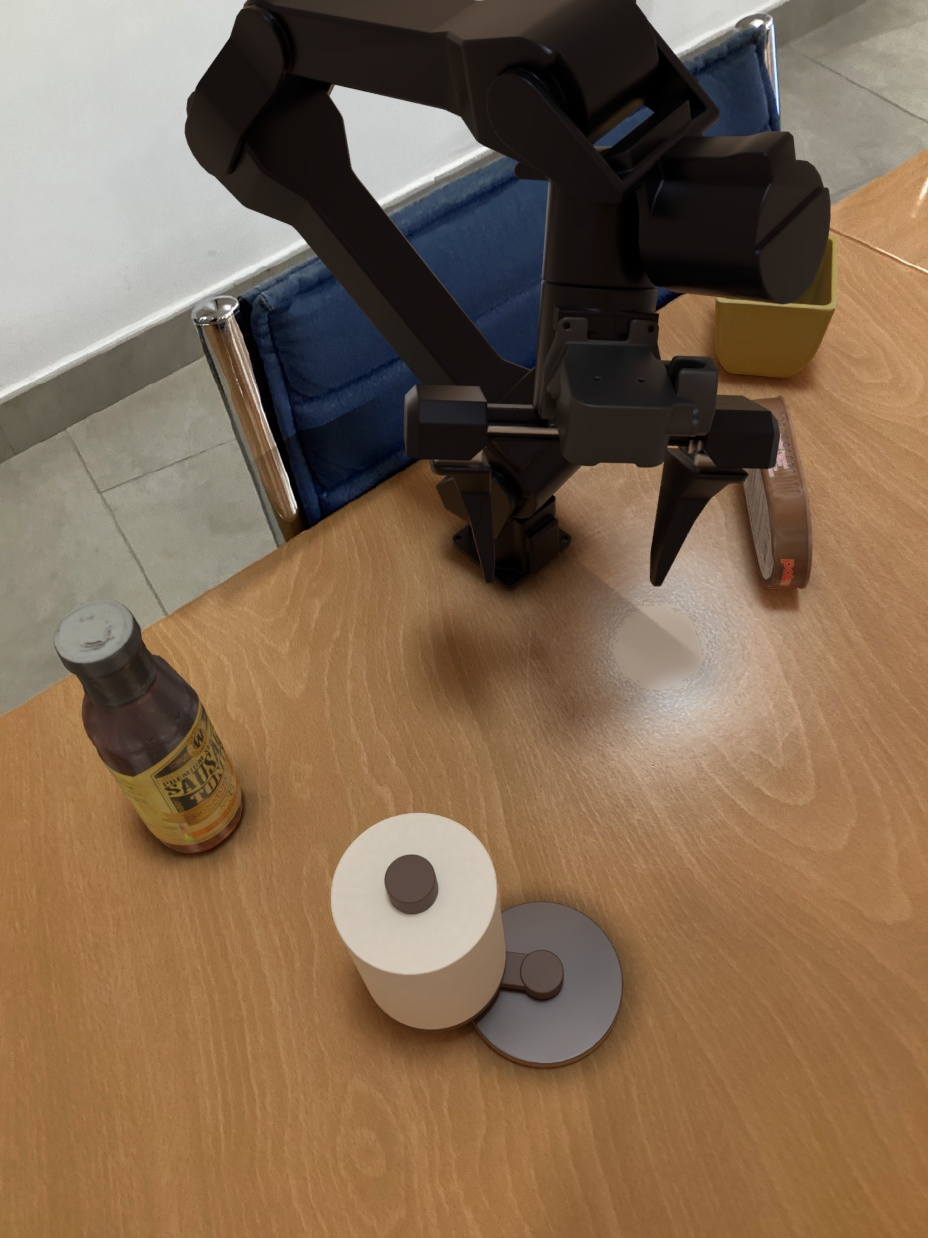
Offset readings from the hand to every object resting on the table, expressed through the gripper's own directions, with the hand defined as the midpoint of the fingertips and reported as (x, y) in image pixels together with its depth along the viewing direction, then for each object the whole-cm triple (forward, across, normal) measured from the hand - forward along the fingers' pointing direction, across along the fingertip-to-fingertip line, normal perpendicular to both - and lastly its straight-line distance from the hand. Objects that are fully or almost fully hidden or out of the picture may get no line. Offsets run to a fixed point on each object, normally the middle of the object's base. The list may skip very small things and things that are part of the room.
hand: (572, 582), depth 58 cm
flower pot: (-8, +21, +34) cm, 40 cm away
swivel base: (+22, -1, -6) cm, 23 cm away
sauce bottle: (+18, -22, +6) cm, 29 cm away
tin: (+2, +18, +19) cm, 26 cm away
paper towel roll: (+21, -6, -6) cm, 23 cm away
